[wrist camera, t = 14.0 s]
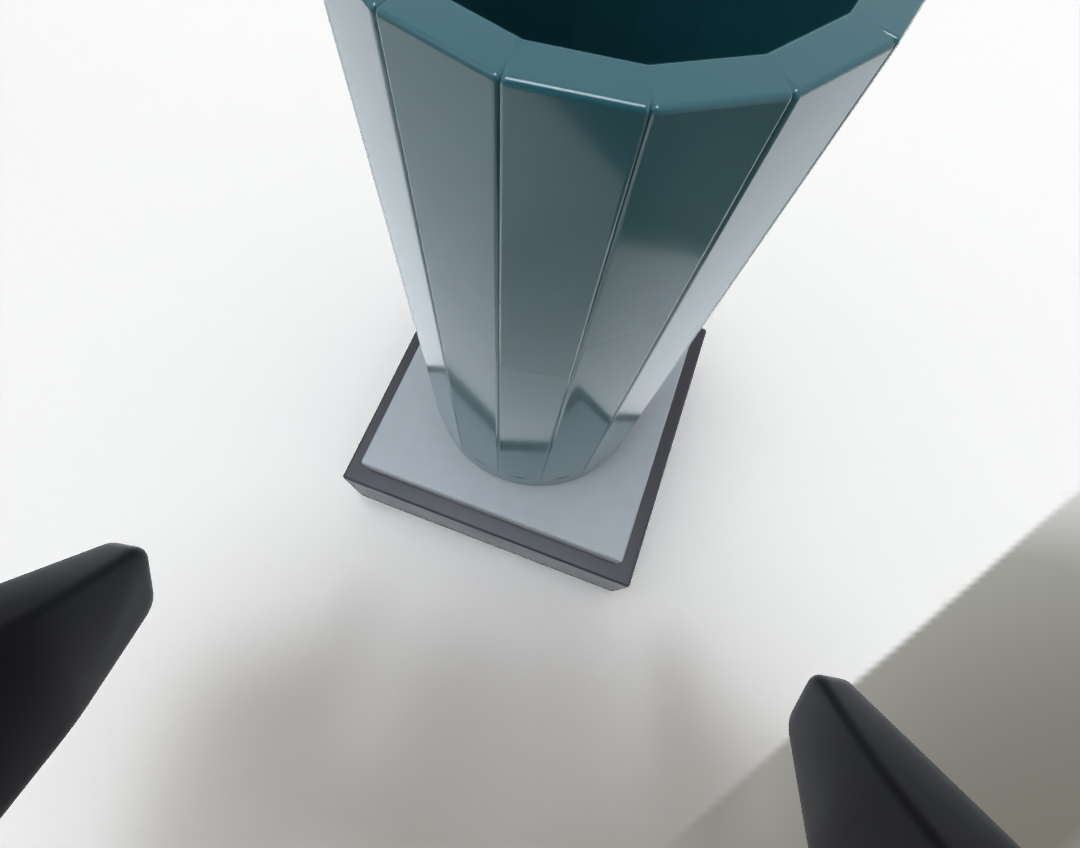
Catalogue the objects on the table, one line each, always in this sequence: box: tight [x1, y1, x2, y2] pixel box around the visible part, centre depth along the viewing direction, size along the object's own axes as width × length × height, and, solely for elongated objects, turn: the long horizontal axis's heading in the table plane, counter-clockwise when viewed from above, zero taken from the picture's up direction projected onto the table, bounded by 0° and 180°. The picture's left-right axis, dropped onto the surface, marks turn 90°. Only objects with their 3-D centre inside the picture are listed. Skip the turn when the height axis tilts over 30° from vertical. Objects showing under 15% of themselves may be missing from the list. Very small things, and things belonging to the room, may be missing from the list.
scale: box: [344, 328, 706, 591], centre depth 19 cm, size 9×9×3 cm
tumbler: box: [324, 0, 926, 486], centre depth 11 cm, size 6×6×13 cm
